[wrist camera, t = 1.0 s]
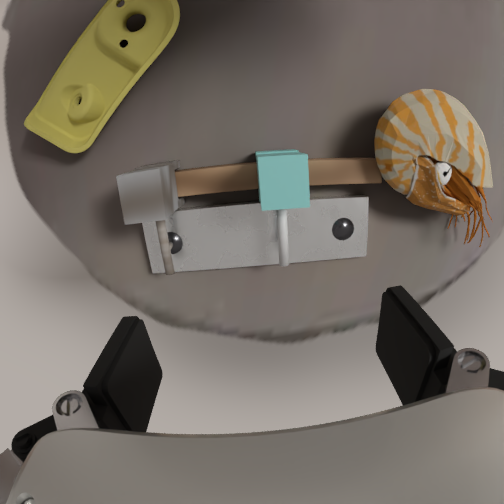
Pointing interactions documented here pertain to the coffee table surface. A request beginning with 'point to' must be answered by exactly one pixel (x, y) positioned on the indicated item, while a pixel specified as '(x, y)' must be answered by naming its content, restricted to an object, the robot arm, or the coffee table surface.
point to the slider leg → (283, 189)
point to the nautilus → (434, 154)
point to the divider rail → (215, 187)
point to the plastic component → (101, 72)
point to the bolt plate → (260, 234)
